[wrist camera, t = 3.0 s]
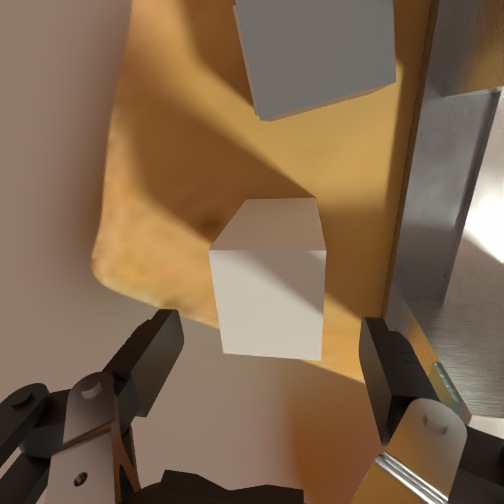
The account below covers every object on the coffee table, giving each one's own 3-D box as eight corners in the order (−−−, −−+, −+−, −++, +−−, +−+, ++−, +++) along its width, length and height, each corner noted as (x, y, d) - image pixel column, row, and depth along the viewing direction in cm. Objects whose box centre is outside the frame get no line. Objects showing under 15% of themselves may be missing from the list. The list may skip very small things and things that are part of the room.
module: (242, 199, 20) (202, 249, 12) (315, 197, 19) (326, 250, 11) (248, 270, 22) (219, 352, 14) (313, 272, 21) (320, 360, 13)
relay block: (248, 29, 16) (227, -9, 11) (362, -13, 14) (390, -78, 10) (266, 122, 17) (255, 121, 13) (369, 94, 16) (395, 81, 11)
